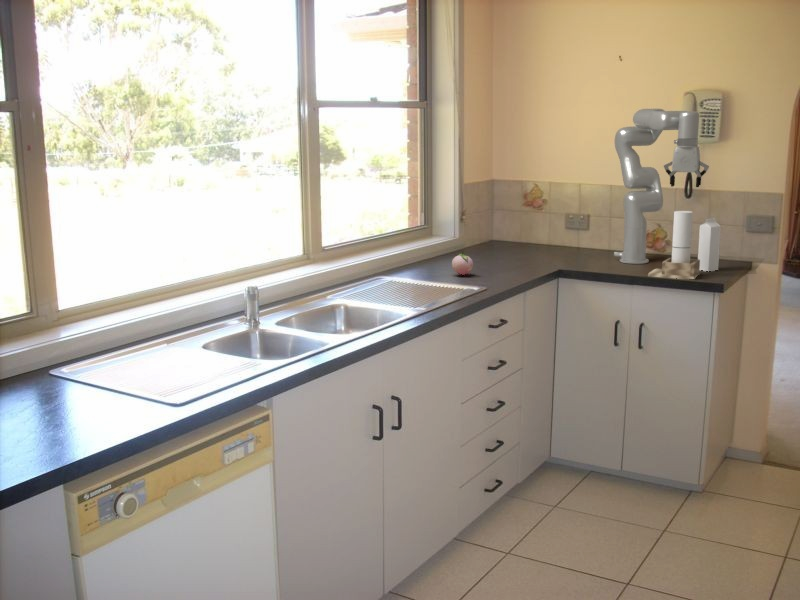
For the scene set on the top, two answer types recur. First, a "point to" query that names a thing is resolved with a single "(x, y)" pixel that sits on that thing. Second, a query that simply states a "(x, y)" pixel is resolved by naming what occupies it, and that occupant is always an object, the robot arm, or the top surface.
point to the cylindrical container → (682, 236)
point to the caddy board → (677, 270)
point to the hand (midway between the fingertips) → (685, 186)
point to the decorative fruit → (462, 264)
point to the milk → (709, 245)
